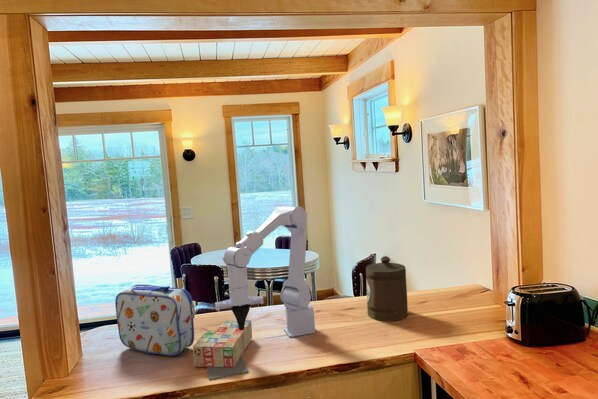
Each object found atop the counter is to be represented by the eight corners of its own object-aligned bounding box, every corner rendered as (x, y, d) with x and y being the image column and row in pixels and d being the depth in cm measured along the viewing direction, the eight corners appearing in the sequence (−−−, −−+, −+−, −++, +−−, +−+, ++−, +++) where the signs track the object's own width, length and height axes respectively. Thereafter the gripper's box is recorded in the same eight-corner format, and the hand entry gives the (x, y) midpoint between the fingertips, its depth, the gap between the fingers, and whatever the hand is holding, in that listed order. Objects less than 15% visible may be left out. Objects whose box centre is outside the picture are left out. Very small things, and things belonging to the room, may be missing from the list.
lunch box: (203, 347, 145) (198, 281, 143) (184, 361, 135) (179, 291, 133) (137, 339, 155) (132, 277, 153) (115, 351, 145) (109, 286, 143)
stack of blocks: (253, 338, 149) (218, 337, 151) (251, 320, 148) (217, 319, 151) (233, 367, 128) (193, 366, 130) (232, 346, 127) (191, 346, 130)
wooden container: (378, 305, 176) (375, 251, 174) (413, 311, 167) (412, 254, 165) (360, 317, 164) (358, 259, 162) (398, 324, 155) (395, 263, 154)
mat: (235, 341, 148) (235, 339, 148) (248, 372, 125) (248, 371, 125) (202, 346, 145) (202, 345, 145) (209, 380, 122) (209, 378, 122)
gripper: (258, 279, 141) (261, 321, 142) (213, 285, 137) (216, 328, 138) (263, 285, 134) (266, 328, 135) (215, 291, 130) (218, 336, 131)
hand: (241, 329), depth 136 cm, fingers closed
